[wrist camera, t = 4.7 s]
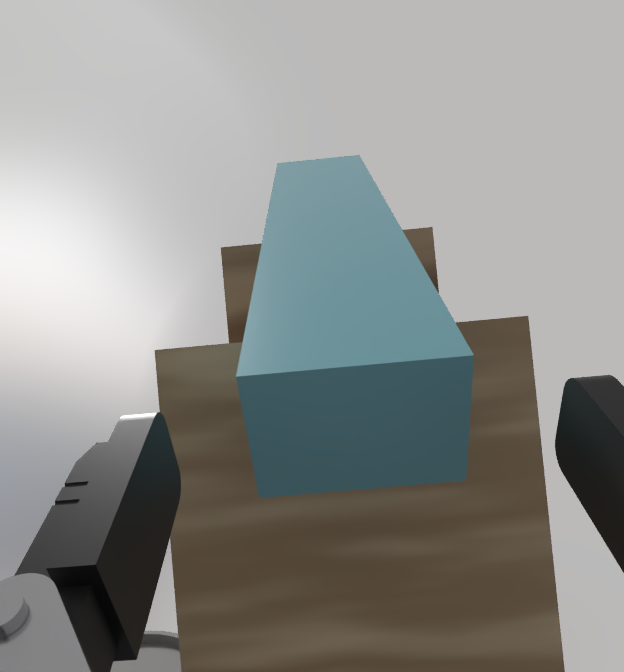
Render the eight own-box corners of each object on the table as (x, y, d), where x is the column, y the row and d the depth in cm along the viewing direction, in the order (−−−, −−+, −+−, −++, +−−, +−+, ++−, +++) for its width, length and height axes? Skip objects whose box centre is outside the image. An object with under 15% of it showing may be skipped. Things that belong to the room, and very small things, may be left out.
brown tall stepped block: (629, 1304, 19) (512, 162, 20) (235, 1321, 19) (142, 199, 20) (499, 894, 33) (435, 240, 34) (274, 909, 33) (217, 261, 34)
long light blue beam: (488, 501, 11) (418, -201, 11) (248, 521, 11) (188, -174, 12) (379, 399, 33) (357, 165, 34) (300, 406, 34) (279, 172, 34)
